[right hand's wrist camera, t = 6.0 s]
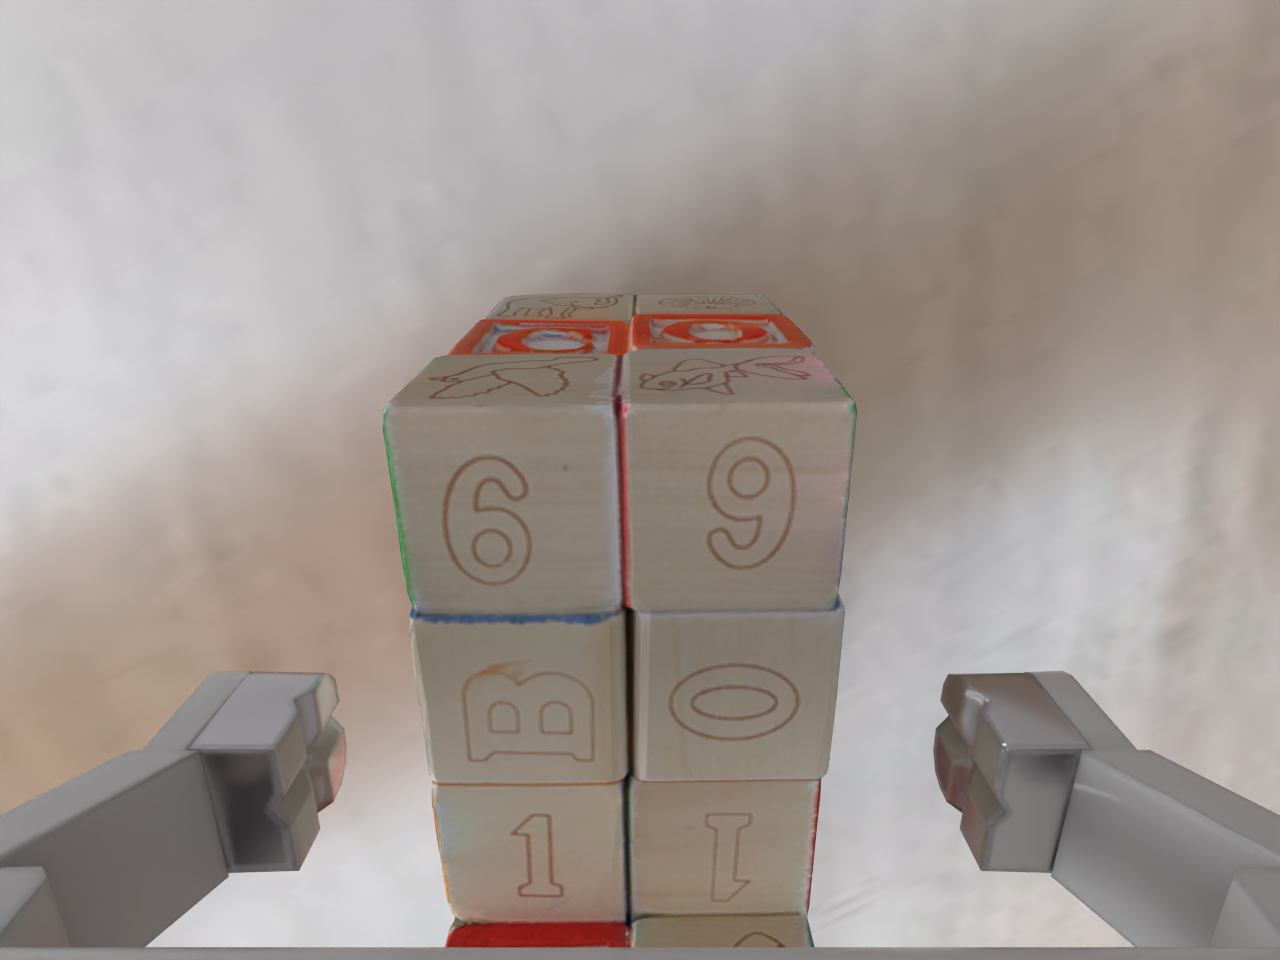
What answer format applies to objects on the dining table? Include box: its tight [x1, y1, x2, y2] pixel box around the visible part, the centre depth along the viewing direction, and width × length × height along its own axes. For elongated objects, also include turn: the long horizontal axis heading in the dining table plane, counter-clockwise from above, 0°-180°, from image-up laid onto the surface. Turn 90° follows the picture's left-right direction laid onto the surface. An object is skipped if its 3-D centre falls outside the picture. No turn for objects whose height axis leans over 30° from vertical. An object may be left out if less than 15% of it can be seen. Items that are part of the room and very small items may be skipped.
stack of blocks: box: [383, 294, 857, 948], centre depth 17 cm, size 21×6×12 cm, turn 0°
